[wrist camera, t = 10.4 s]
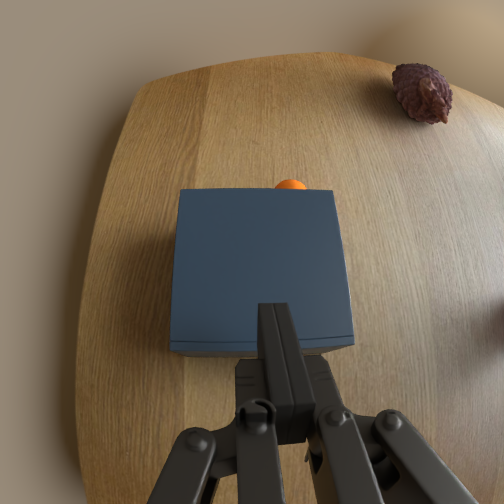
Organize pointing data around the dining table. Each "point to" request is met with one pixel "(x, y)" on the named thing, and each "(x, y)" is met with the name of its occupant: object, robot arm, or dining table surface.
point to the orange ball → (290, 185)
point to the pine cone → (422, 92)
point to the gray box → (257, 270)
